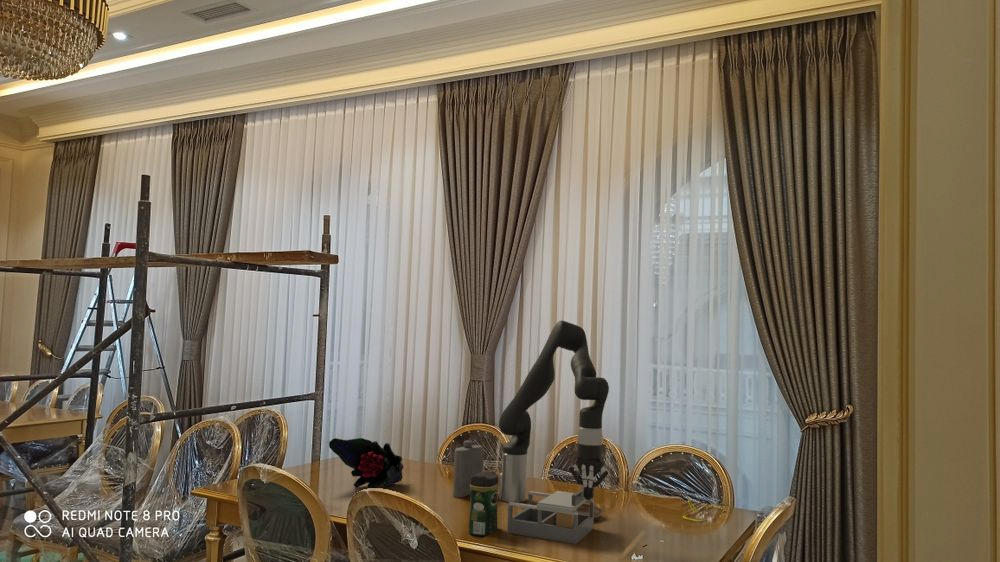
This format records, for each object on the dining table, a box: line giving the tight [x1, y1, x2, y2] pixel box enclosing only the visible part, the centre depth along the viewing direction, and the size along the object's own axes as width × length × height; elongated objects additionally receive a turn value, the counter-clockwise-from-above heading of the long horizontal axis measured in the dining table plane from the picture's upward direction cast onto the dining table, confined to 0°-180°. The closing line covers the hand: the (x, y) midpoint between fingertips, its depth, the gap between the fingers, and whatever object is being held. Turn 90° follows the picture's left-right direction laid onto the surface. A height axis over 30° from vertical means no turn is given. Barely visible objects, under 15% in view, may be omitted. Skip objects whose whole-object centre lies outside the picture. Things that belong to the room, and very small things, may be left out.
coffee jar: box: [468, 470, 500, 537], centre depth 216 cm, size 10×8×19 cm
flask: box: [452, 440, 484, 498], centre depth 266 cm, size 15×6×20 cm, turn 146°
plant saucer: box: [577, 503, 604, 522], centre depth 237 cm, size 21×21×3 cm
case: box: [507, 490, 595, 545], centre depth 217 cm, size 22×18×10 cm
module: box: [556, 509, 577, 528], centre depth 215 cm, size 5×5×8 cm
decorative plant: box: [328, 437, 404, 489], centre depth 269 cm, size 21×26×30 cm
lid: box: [536, 487, 588, 514], centre depth 216 cm, size 11×20×5 cm, turn 156°
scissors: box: [682, 498, 722, 522], centre depth 248 cm, size 25×10×5 cm, turn 141°
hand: (588, 499), depth 213 cm, fingers closed
